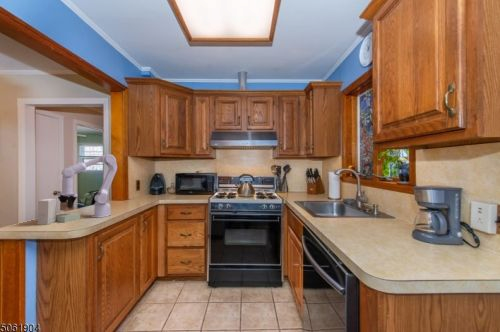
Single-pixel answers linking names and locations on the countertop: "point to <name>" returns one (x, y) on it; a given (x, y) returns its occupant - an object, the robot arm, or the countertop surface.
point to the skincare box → (46, 211)
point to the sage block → (67, 217)
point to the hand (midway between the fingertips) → (67, 207)
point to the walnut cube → (65, 206)
